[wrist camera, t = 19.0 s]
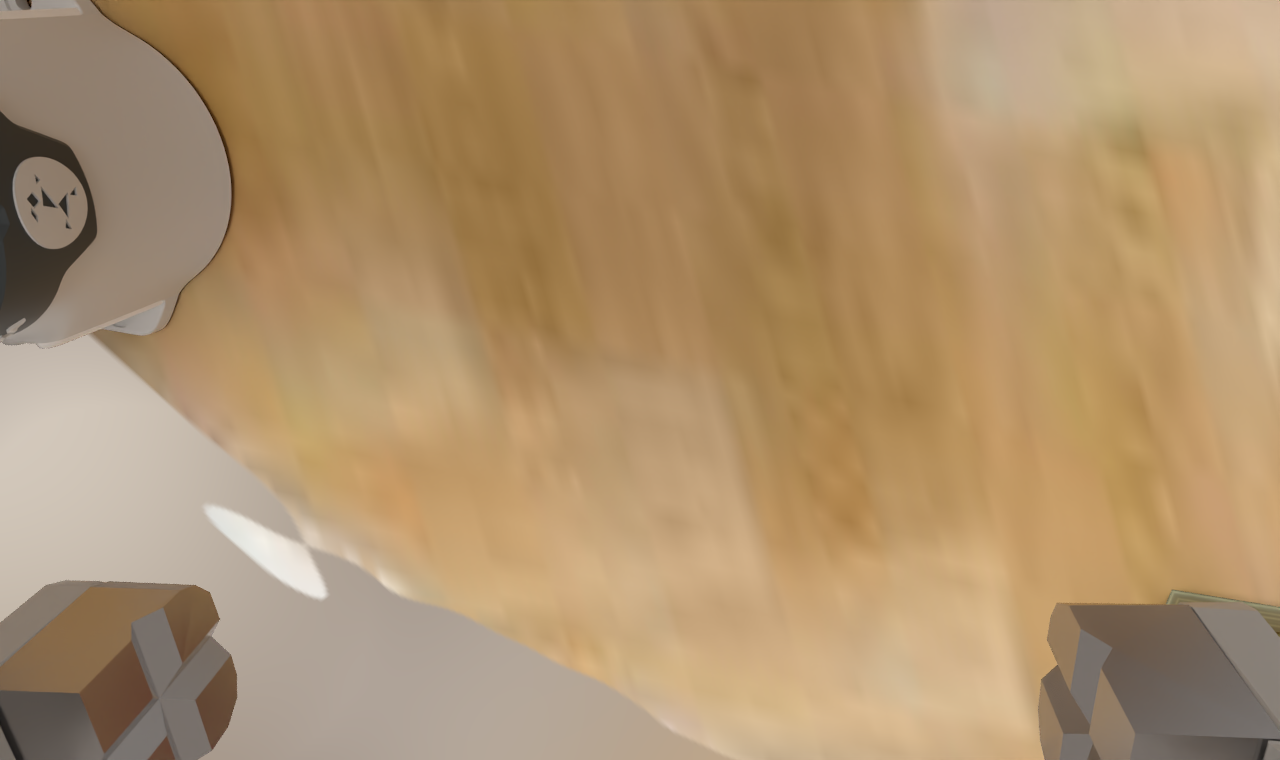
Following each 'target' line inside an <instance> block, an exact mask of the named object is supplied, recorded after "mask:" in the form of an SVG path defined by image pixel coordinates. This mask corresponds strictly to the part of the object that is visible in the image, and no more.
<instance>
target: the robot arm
mask: <svg viewBox="0 0 1280 760" xmlns="http://www.w3.org/2000/svg"><path fill="white" fill-rule="evenodd" d="M31 1H32V6H31V8H30V7H29V5H28V3H27V0H0V342H2V343H3V344H6V345H19V344H24V343H35V344H36V345H37V346H38V347H39V348H42V349H43V348H52V347H56V346H59V345H62V344H64V343H67V342H69V341H72V340H74V339H77V338H79V337H82V336H85V335H87V334H90V333H92V332H95V331H97V330H100V329H105V330H111V331H116V332H122V333H128V334H134V335H142V336H144V335H149V334H152V333H154V332H157V331H160V330H162V329H163V328H164V327H165V326H166V325H167V323H168V322H169V320H170V318H171V315H172V313H173V310H174V307H175V305H176V302H177V298H178V295H179V293H180V291H181V290H182V289H183V287H184V286H185V285H186V284H187V283H188V282H189V281H190V280H192V279H193V278H194V277H195V276H196V275H197V274H198V273H200V272H201V271H202V270H203V269H204V268H205V267H206V266H207V264H208V263H209V262H210V261H211V259H212V258H213V257H214V255H215V253H216V252H217V250H218V248H219V246H220V245H221V242H222V240H223V238H224V235H225V232H226V229H227V226H228V221H229V216H230V209H231V178H230V171H229V165H228V161H227V156H226V153H225V149H224V146H223V143H222V140H221V137H220V135H219V132H218V130H217V127H216V125H215V123H214V121H213V119H212V117H211V115H210V113H209V111H208V110H207V108H206V106H205V105H204V103H203V101H202V100H201V98H200V97H199V95H198V94H197V93H196V91H195V90H194V88H193V87H192V86H191V85H190V83H189V82H188V81H187V80H186V78H185V77H184V76H183V75H182V74H181V73H180V72H179V71H178V69H177V68H176V67H175V66H173V65H172V64H171V63H170V62H169V61H168V60H167V59H166V58H165V57H164V56H163V55H161V54H160V53H159V52H158V51H156V50H155V49H154V48H152V47H151V46H150V45H148V44H147V43H145V42H144V41H142V40H141V39H139V38H137V37H136V36H134V35H132V34H131V33H129V32H127V31H126V30H124V29H122V28H120V27H119V26H117V25H116V24H114V23H113V22H111V21H110V20H108V19H107V18H106V17H105V16H103V15H102V14H101V13H100V12H99V10H98V9H97V8H96V7H95V6H94V4H93V3H92V2H91V1H90V0H31ZM219 620H220V618H219V616H218V613H217V610H216V608H215V605H214V602H213V599H212V597H211V594H210V592H208V591H206V590H204V589H202V588H200V587H198V586H196V585H179V584H156V583H133V582H111V581H110V582H100V581H67V580H65V581H61V582H57V583H53V584H49V585H46V586H44V587H43V588H42V589H41V590H39V591H38V592H37V593H36V594H35V595H34V596H32V597H31V598H30V599H29V600H27V601H26V602H25V603H24V604H22V605H21V606H20V607H19V608H18V609H16V610H15V611H14V612H13V613H11V614H10V615H9V616H8V617H7V618H5V619H4V620H3V621H2V622H0V760H198V759H199V758H201V757H202V756H204V755H205V754H207V753H209V752H210V751H212V749H213V748H214V747H215V745H216V744H217V742H218V741H219V739H220V737H221V736H222V735H223V733H224V732H225V731H226V729H227V728H228V725H229V722H230V719H231V716H232V712H233V709H234V705H235V703H236V699H237V674H236V670H235V667H234V664H233V660H232V657H231V654H229V652H227V651H226V650H225V649H224V648H223V647H222V646H221V645H220V644H219V643H218V642H217V641H216V640H215V639H213V637H211V636H212V634H213V632H214V630H215V628H216V626H217V624H218V622H219ZM1047 641H1048V643H1049V646H1050V648H1051V650H1052V652H1053V655H1054V657H1055V659H1056V661H1057V664H1058V665H1057V666H1055V667H1054V668H1053V669H1052V670H1051V671H1050V672H1049V673H1048V674H1047V675H1046V676H1045V677H1044V678H1042V679H1041V687H1040V697H1039V706H1038V714H1039V728H1040V741H1041V746H1042V750H1043V754H1044V758H1045V760H1280V637H1279V636H1278V635H1277V633H1276V632H1275V631H1274V630H1273V629H1272V627H1271V626H1270V625H1269V624H1268V623H1267V621H1266V620H1265V619H1264V618H1263V617H1262V615H1261V614H1260V613H1259V612H1258V611H1257V610H1256V609H1255V608H1253V607H1251V606H1249V605H1247V604H1245V603H1243V602H1180V603H1179V604H1178V605H1173V604H1109V603H1057V604H1056V606H1055V608H1054V610H1053V613H1052V615H1051V618H1050V624H1049V630H1048V637H1047Z"/></svg>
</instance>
